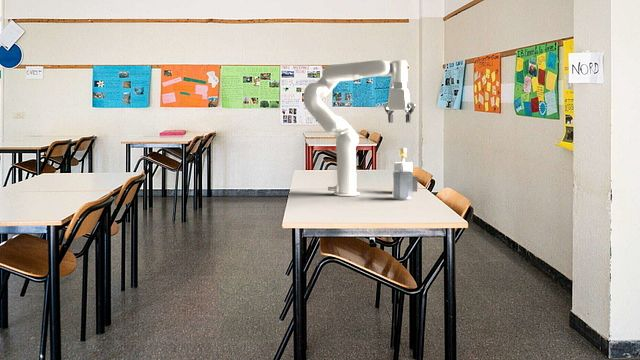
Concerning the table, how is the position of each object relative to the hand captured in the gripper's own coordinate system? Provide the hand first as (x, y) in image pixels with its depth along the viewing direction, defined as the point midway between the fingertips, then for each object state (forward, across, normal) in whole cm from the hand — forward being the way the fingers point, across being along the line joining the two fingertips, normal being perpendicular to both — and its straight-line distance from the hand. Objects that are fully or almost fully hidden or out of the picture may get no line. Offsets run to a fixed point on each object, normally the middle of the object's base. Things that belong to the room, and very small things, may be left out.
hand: (399, 122), depth 303 cm
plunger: (+28, +5, -6) cm, 29 cm away
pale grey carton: (+36, +6, -5) cm, 37 cm away
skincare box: (+36, -5, +11) cm, 38 cm away
